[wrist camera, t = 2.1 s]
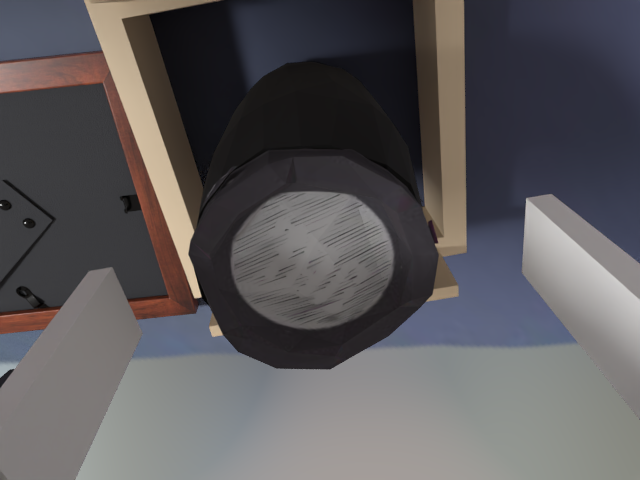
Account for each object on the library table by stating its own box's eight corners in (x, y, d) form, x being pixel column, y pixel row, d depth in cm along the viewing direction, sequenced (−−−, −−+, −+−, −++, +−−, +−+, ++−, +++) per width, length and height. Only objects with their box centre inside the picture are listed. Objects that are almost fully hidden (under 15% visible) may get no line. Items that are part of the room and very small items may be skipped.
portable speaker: (385, 73, 30) (512, 185, 13) (337, 198, 34) (383, 409, 17) (259, 27, 28) (209, 85, 11) (224, 165, 32) (148, 362, 15)
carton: (206, 261, 36) (180, 342, 28) (115, -9, 27) (35, -10, 18) (444, 220, 35) (492, 290, 27) (434, -71, 26) (500, -100, 18)
